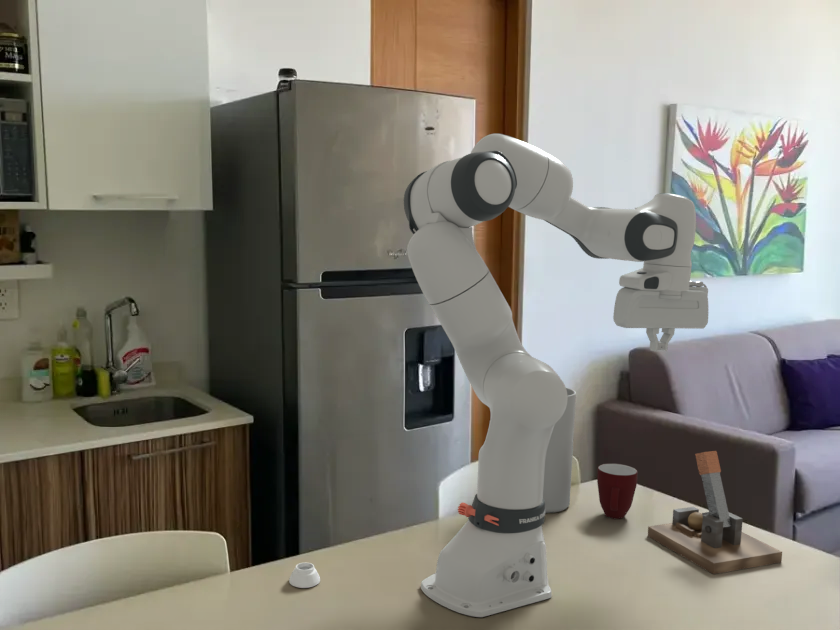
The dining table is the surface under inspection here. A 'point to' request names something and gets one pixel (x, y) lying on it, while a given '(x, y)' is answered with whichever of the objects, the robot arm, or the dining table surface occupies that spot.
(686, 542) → the bench
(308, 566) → the lidless jar
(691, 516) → the walnut
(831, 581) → the dining table surface
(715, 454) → the lever
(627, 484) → the mug
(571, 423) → the cylinder vase
